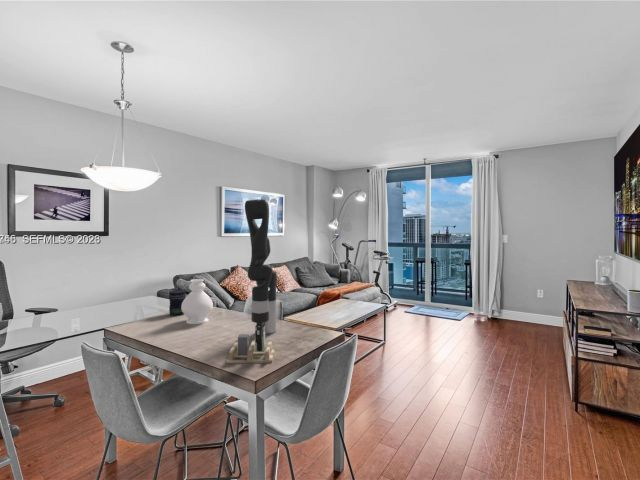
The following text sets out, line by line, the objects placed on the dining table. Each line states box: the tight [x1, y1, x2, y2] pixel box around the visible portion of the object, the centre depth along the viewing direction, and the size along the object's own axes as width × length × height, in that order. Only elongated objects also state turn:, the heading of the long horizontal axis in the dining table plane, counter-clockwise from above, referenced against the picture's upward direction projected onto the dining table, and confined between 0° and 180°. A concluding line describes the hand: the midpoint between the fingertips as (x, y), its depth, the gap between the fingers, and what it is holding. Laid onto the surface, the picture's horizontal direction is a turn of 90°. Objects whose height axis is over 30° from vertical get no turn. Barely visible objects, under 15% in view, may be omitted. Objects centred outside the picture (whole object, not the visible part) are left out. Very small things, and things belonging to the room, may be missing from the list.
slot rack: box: [225, 339, 276, 364], centre depth 148 cm, size 15×19×4 cm
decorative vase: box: [181, 278, 214, 325], centre depth 201 cm, size 18×18×25 cm
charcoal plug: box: [237, 333, 250, 356], centre depth 147 cm, size 4×4×8 cm
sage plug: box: [254, 332, 266, 352], centre depth 148 cm, size 4×4×8 cm
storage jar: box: [168, 289, 187, 317], centre depth 218 cm, size 10×10×15 cm
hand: (260, 348), depth 148 cm, fingers closed on sage plug, 4 cm apart
